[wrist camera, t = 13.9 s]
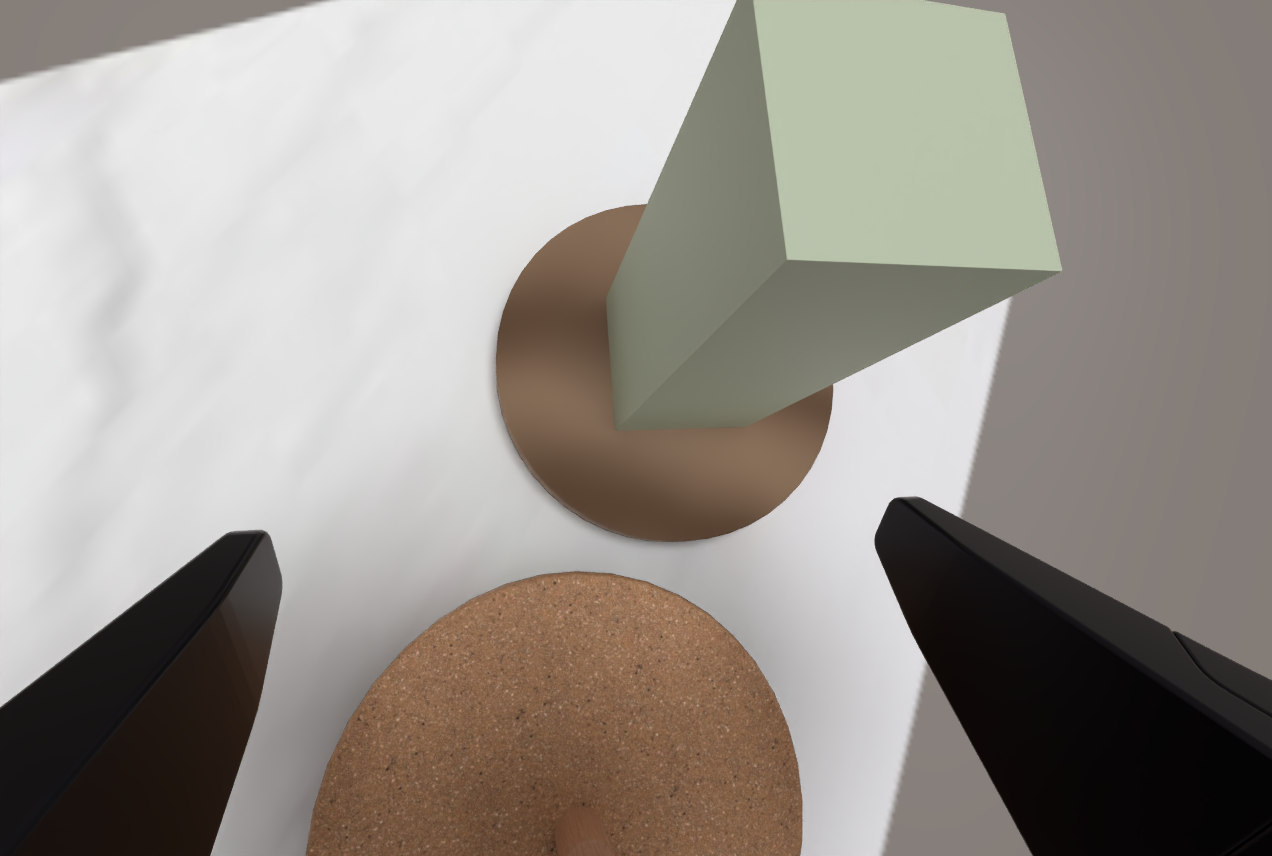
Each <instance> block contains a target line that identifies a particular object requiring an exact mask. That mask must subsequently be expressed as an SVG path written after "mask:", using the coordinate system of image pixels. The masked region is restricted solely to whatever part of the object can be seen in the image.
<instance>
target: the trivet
mask: <svg viewBox="0 0 1272 856" xmlns="http://www.w3.org/2000/svg"><path fill="white" fill-rule="evenodd" d="M646 206H647V204H644V205H632V206H624V207H619V208H615V209H610V210H606V211H603V212H600V213H597V214H595V215H592V216H589V217H586V218H584V219H583V220H581V221H579V222H577V223H575V224H573V225H571V226H569V227H567V228H566V229H565V230H563V231H562V232H561V233H559V234H558V235H556V236H555V237H554V238H552V239H551V240H550V241H549V242H548V243H547V244H546V245H545V246H544V247H542V248H541V249H540V250H539V251H538V252H537V253H536V254H535V255H534V257H533V258H532V259H531V261H530V262H529V263H528V264H527V266H526V267H525V268H524V270H523V271H522V272H521V274H520V276H519V278H518V280H517V281H516V283H515V285H514V287H513V288H512V290H511V293H510V295H509V298H508V300H507V303H506V305H505V308H504V311H503V314H502V319H501V323H500V328H499V332H498V341H497V353H496V375H497V392H498V397H499V402H500V407H501V412H502V416H503V418H504V421H505V424H506V427H507V430H508V433H509V436H510V438H511V440H512V442H513V444H514V446H515V448H516V450H517V452H518V453H519V455H520V457H521V459H522V460H523V461H524V463H525V464H526V466H527V467H528V469H529V470H530V472H531V473H532V475H533V476H534V477H535V478H536V479H537V480H538V481H539V483H540V484H541V485H542V486H543V487H544V488H545V489H546V490H547V491H548V493H550V494H551V495H552V496H553V497H554V498H555V499H557V500H558V501H559V502H560V503H561V504H562V505H564V506H565V507H566V508H567V509H569V510H571V511H572V512H574V513H575V514H577V515H578V516H580V517H581V518H583V519H584V520H586V521H588V522H590V523H592V524H594V525H597V526H599V527H601V528H603V529H605V530H607V531H611V532H614V533H617V534H620V535H623V536H626V537H630V538H636V539H642V540H648V541H666V542H677V541H690V540H700V539H708V538H712V537H716V536H720V535H724V534H728V533H731V532H733V531H736V530H738V529H741V528H743V527H746V526H748V525H750V524H752V523H754V522H755V521H757V520H759V519H760V518H762V517H764V516H765V515H767V514H769V513H770V512H771V511H772V510H774V509H775V508H776V507H777V506H779V505H780V504H781V503H782V502H784V501H785V500H786V499H787V498H788V497H789V495H790V494H791V493H792V492H793V491H794V490H795V489H796V488H797V487H798V486H799V485H800V483H801V482H802V480H803V479H804V477H805V476H806V475H807V473H808V472H809V470H810V469H811V467H812V465H813V463H814V461H815V459H816V457H817V456H818V454H819V452H820V450H821V447H822V444H823V441H824V438H825V435H826V433H827V429H828V425H829V420H830V415H831V410H832V398H833V384H832V385H830V386H828V387H826V388H824V389H822V390H820V391H818V392H816V393H814V394H812V395H810V396H808V397H806V398H804V399H802V400H799V401H797V402H795V403H793V404H791V405H789V406H787V407H785V408H783V409H781V410H779V411H777V412H775V413H773V414H771V415H769V416H767V417H765V418H763V419H761V420H759V421H757V422H755V423H753V424H751V425H749V426H747V427H728V428H696V429H664V430H632V431H615V424H614V410H613V395H612V381H611V367H610V352H609V338H608V323H607V309H606V297H607V295H608V292H609V290H610V288H611V286H612V283H613V281H614V279H615V276H616V274H617V272H618V270H619V267H620V265H621V263H622V260H623V258H624V256H625V254H626V251H627V249H628V247H629V245H630V242H631V240H632V238H633V235H634V233H635V231H636V229H637V226H638V224H639V222H640V220H641V217H642V215H643V213H644V210H645V208H646Z"/></svg>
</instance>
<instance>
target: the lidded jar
mask: <svg viewBox="0 0 1272 856" xmlns="http://www.w3.org/2000/svg"><path fill="white" fill-rule="evenodd" d="M801 845H802V794H801V786H800V778H799V770H798V762H797V758H796V754H795V751H794V747H793V743H792V739H791V735H790V732H789V728H788V725H787V722H786V720H785V718H784V715H783V713H782V711H781V708H780V706H779V703H778V701H777V699H776V696H775V694H774V692H773V690H772V688H771V687H770V685H769V684H768V682H767V680H766V679H765V677H764V675H763V674H762V672H761V670H760V669H759V667H758V665H757V664H756V662H755V661H754V660H753V658H752V657H751V656H750V655H749V654H748V652H747V651H746V650H745V649H744V648H743V646H742V645H741V644H740V643H739V642H738V640H737V639H736V638H735V637H734V636H733V635H732V634H731V633H730V632H729V631H728V630H727V629H725V628H724V627H723V626H722V625H721V624H720V623H719V622H717V621H716V620H715V619H714V618H713V617H712V616H711V615H710V614H708V613H707V612H705V611H704V610H702V609H701V608H699V607H697V606H696V605H694V604H693V603H691V602H689V601H688V600H686V599H685V598H683V597H681V596H680V595H678V594H675V593H673V592H670V591H668V590H666V589H663V588H661V587H658V586H656V585H654V584H651V583H649V582H646V581H642V580H637V579H633V578H629V577H624V576H620V575H616V574H610V573H595V572H579V571H574V572H564V573H554V574H544V575H538V576H535V577H531V578H527V579H523V580H519V581H515V582H512V583H508V584H505V585H503V586H500V587H498V588H496V589H493V590H491V591H489V592H487V593H484V594H482V595H480V596H477V597H475V598H473V599H471V600H469V601H468V602H466V603H464V604H463V605H461V606H460V607H458V608H456V609H455V610H453V611H452V612H450V613H448V614H447V615H445V616H444V617H442V618H440V619H439V620H437V621H436V622H435V623H434V624H433V625H432V626H430V627H429V628H428V629H427V630H426V631H424V632H423V633H422V634H421V635H420V636H419V637H417V638H416V639H415V640H414V641H413V642H412V643H410V644H409V645H408V646H407V647H406V648H405V649H404V650H403V651H402V652H401V653H400V654H399V655H398V657H397V658H396V659H395V660H394V661H393V662H392V663H391V664H390V666H389V667H388V668H387V669H386V670H385V671H384V672H383V673H382V675H381V676H380V677H379V678H378V679H377V680H376V681H375V683H374V684H373V685H372V687H371V688H370V690H369V691H368V693H367V694H366V696H365V697H364V699H363V700H362V702H361V703H360V705H359V706H358V708H357V709H356V711H355V712H354V714H353V715H352V717H351V718H350V720H349V721H348V723H347V725H346V727H345V730H344V732H343V734H342V736H341V738H340V740H339V742H338V744H337V746H336V748H335V750H334V752H333V754H332V756H331V758H330V761H329V763H328V765H327V768H326V771H325V774H324V777H323V781H322V784H321V787H320V790H319V793H318V796H317V799H316V803H315V806H314V809H313V814H312V820H311V826H310V832H309V838H308V844H307V850H306V856H800V853H801Z"/></svg>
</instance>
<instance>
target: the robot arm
mask: <svg viewBox="0 0 1272 856" xmlns="http://www.w3.org/2000/svg"><path fill="white" fill-rule="evenodd" d="M875 548H876V551H877V554H878V556H879V558H880V561H881V563H882V566H883V568H884V570H885V573H886V575H887V577H888V580H889V582H890V584H891V587H892V589H893V591H894V594H895V596H896V598H897V601H898V603H899V605H900V608H901V610H902V612H903V615H904V617H905V619H906V622H907V624H908V626H909V628H910V630H911V633H912V635H913V637H914V639H915V641H916V643H917V645H918V646H919V648H920V650H921V652H922V654H923V656H924V658H925V659H926V661H927V663H928V665H929V667H930V669H931V670H932V672H933V674H934V676H935V678H936V680H937V681H938V683H939V685H940V687H941V689H942V691H943V692H944V694H945V696H946V698H947V700H948V702H949V703H950V705H951V707H952V709H953V711H954V713H955V715H956V716H957V718H958V720H959V722H960V724H961V726H962V727H963V729H964V731H965V733H966V735H967V737H968V738H969V740H970V742H971V744H972V746H973V748H974V749H975V751H976V753H977V755H978V756H979V759H980V761H981V762H982V764H983V766H984V768H985V770H986V772H987V773H988V775H989V777H990V779H991V781H992V783H993V784H994V786H995V788H996V790H997V792H998V794H999V795H1000V797H1001V799H1002V801H1003V803H1004V805H1005V806H1006V808H1007V810H1008V812H1009V814H1010V815H1011V817H1012V819H1013V821H1014V823H1015V825H1016V827H1017V829H1018V830H1019V832H1020V834H1021V836H1022V838H1023V840H1024V841H1025V843H1026V845H1027V847H1028V848H1029V851H1030V852H1031V854H1032V856H1272V680H1270V679H1268V678H1266V677H1264V676H1262V675H1260V674H1258V673H1256V672H1254V671H1252V670H1250V669H1248V668H1246V667H1244V666H1242V665H1240V664H1238V663H1236V662H1235V661H1232V660H1231V659H1229V658H1227V657H1225V656H1223V655H1221V654H1219V653H1217V652H1215V651H1213V650H1211V649H1209V648H1207V647H1205V646H1203V645H1201V644H1200V643H1197V642H1196V641H1194V640H1192V639H1190V638H1188V637H1186V636H1184V635H1182V634H1180V633H1179V632H1176V631H1171V630H1170V628H1168V627H1167V626H1165V625H1163V624H1161V623H1159V622H1157V621H1155V620H1154V619H1152V618H1149V617H1148V616H1146V615H1144V614H1142V613H1140V612H1138V611H1136V610H1134V609H1132V608H1131V607H1128V606H1127V605H1125V604H1123V603H1121V602H1119V601H1117V600H1115V599H1113V598H1112V597H1110V596H1108V595H1106V594H1104V593H1102V592H1100V591H1098V590H1096V589H1094V588H1092V587H1090V586H1089V585H1087V584H1085V583H1083V582H1081V581H1079V580H1077V579H1075V578H1073V577H1071V576H1070V575H1068V574H1066V573H1064V572H1062V571H1060V570H1058V569H1056V568H1054V567H1052V566H1050V565H1049V564H1047V563H1045V562H1043V561H1041V560H1039V559H1037V558H1035V557H1033V556H1031V555H1030V554H1028V553H1026V552H1024V551H1022V550H1020V549H1018V548H1016V547H1014V546H1012V545H1010V544H1009V543H1007V542H1005V541H1003V540H1001V539H999V538H997V537H995V536H993V535H991V534H989V533H987V532H986V531H984V530H982V529H980V528H978V527H976V526H974V525H972V524H970V523H968V522H967V521H964V520H963V519H961V518H959V517H957V516H955V515H953V514H951V513H949V512H947V511H946V510H944V509H942V508H940V507H938V506H936V505H934V504H932V503H930V502H928V501H927V500H925V499H923V498H920V497H898V498H894V499H893V500H892V501H891V502H890V503H889V505H888V507H887V509H886V511H885V514H884V516H883V518H882V520H881V523H880V525H879V527H878V529H877V532H876V534H875ZM281 595H282V576H281V572H280V568H279V565H278V561H277V558H276V554H275V551H274V547H273V544H272V540H271V538H270V536H269V534H268V533H267V532H266V531H263V530H248V531H233V532H229V533H227V534H225V535H224V536H222V537H221V538H219V539H218V540H217V541H216V542H214V543H213V544H212V545H210V546H209V547H208V548H206V549H205V550H204V551H203V552H201V553H200V554H199V555H197V556H196V557H195V558H193V559H192V560H191V561H190V562H188V563H187V564H186V565H184V566H183V567H182V568H180V569H179V570H178V571H177V572H175V573H174V574H173V575H171V576H170V577H169V578H167V579H166V580H165V581H164V582H162V583H161V584H160V585H158V586H157V587H156V588H155V589H153V590H152V591H151V592H149V593H148V594H147V595H145V596H144V597H143V598H142V599H140V600H139V601H138V602H136V603H135V604H134V605H132V606H131V607H130V608H129V609H127V610H126V611H125V612H123V613H122V614H121V615H119V616H118V617H117V618H116V619H114V620H113V621H112V622H110V623H109V624H108V625H106V626H105V627H104V628H103V629H101V630H100V631H99V632H97V633H96V634H95V635H93V636H92V637H91V638H90V639H88V640H87V641H86V642H84V643H83V644H82V645H80V646H79V647H78V648H77V649H75V650H74V651H73V652H71V653H70V654H69V655H67V656H66V657H65V658H64V659H62V660H61V661H60V662H58V663H57V664H56V665H55V666H53V667H52V668H51V669H49V670H48V671H47V672H45V673H44V674H43V675H42V676H40V677H39V678H38V679H36V680H35V681H34V682H32V683H31V684H30V685H29V686H27V687H26V688H25V689H23V690H22V691H21V692H19V693H18V694H17V695H16V696H14V697H13V698H12V699H10V700H9V701H8V702H6V703H5V704H4V705H3V706H1V707H0V856H210V854H211V851H212V848H213V845H214V842H215V839H216V836H217V833H218V830H219V827H220V824H221V821H222V818H223V815H224V812H225V809H226V806H227V803H228V800H229V797H230V794H231V791H232V788H233V785H234V782H235V779H236V776H237V773H238V770H239V767H240V764H241V761H242V757H243V754H244V751H245V748H246V745H247V742H248V739H249V736H250V733H251V730H252V727H253V724H254V720H255V717H256V714H257V710H258V706H259V702H260V698H261V693H262V689H263V684H264V679H265V674H266V669H267V664H268V659H269V654H270V649H271V644H272V639H273V634H274V629H275V624H276V620H277V615H278V610H279V605H280V600H281Z"/></svg>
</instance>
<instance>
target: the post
mask: <svg viewBox="0 0 1272 856" xmlns="http://www.w3.org/2000/svg"><path fill="white" fill-rule="evenodd" d="M1060 272H1062V267H1061V263H1060V259H1059V255H1058V249H1057V245H1056V241H1055V236H1054V231H1053V227H1052V223H1051V218H1050V213H1049V209H1048V204H1047V200H1046V195H1045V191H1044V186H1043V182H1042V177H1041V173H1040V168H1039V165H1038V159H1037V155H1036V150H1035V146H1034V142H1033V137H1032V133H1031V128H1030V123H1029V119H1028V114H1027V110H1026V106H1025V101H1024V96H1023V92H1022V87H1021V83H1020V78H1019V74H1018V70H1017V65H1016V60H1015V56H1014V51H1013V47H1012V42H1011V38H1010V34H1009V29H1008V24H1007V20H1006V15H1005V14H1003V13H997V12H991V11H985V10H978V9H972V8H966V7H961V6H954V5H948V4H942V3H936V2H930V1H924V0H737V1H736V3H735V6H734V8H733V10H732V12H731V15H730V17H729V19H728V21H727V24H726V26H725V28H724V31H723V33H722V35H721V37H720V40H719V42H718V44H717V46H716V49H715V51H714V53H713V56H712V58H711V60H710V62H709V65H708V67H707V69H706V72H705V74H704V76H703V78H702V81H701V83H700V85H699V87H698V90H697V92H696V94H695V97H694V99H693V101H692V103H691V106H690V108H689V110H688V113H687V115H686V117H685V119H684V122H683V124H682V126H681V128H680V131H679V133H678V135H677V138H676V140H675V142H674V144H673V147H672V149H671V151H670V153H669V156H668V158H667V160H666V163H665V165H664V167H663V169H662V172H661V174H660V176H659V179H658V181H657V183H656V185H655V188H654V190H653V192H652V194H651V197H650V199H649V201H648V204H647V206H646V208H645V210H644V213H643V215H642V217H641V220H640V222H639V224H638V226H637V229H636V231H635V233H634V235H633V238H632V240H631V242H630V245H629V247H628V249H627V251H626V254H625V256H624V258H623V260H622V263H621V265H620V267H619V270H618V272H617V274H616V276H615V279H614V281H613V283H612V286H611V288H610V290H609V292H608V295H607V297H606V309H607V323H608V338H609V352H610V367H611V381H612V395H613V410H614V424H615V431H632V430H664V429H696V428H728V427H747V426H749V425H751V424H753V423H755V422H757V421H759V420H761V419H763V418H765V417H767V416H769V415H771V414H773V413H775V412H777V411H779V410H781V409H783V408H785V407H787V406H789V405H791V404H793V403H795V402H797V401H799V400H802V399H804V398H806V397H808V396H810V395H812V394H814V393H816V392H818V391H820V390H822V389H824V388H826V387H828V386H830V385H832V384H834V383H836V382H838V381H840V380H842V379H844V378H846V377H848V376H850V375H852V374H854V373H856V372H858V371H860V370H862V369H865V368H867V367H869V366H871V365H873V364H875V363H877V362H879V361H881V360H883V359H885V358H887V357H889V356H891V355H893V354H895V353H897V352H899V351H901V350H903V349H905V348H907V347H909V346H911V345H913V344H915V343H917V342H919V341H921V340H923V339H925V338H928V337H930V336H932V335H934V334H936V333H938V332H940V331H942V330H944V329H946V328H948V327H950V326H952V325H954V324H956V323H958V322H960V321H962V320H964V319H966V318H968V317H970V316H972V315H974V314H976V313H978V312H980V311H982V310H984V309H986V308H988V307H991V306H993V305H995V304H997V303H999V302H1001V301H1003V300H1005V299H1007V298H1009V297H1011V296H1013V295H1015V294H1017V293H1019V292H1021V291H1023V290H1025V289H1027V288H1029V287H1031V286H1033V285H1035V284H1037V283H1039V282H1041V281H1043V280H1045V279H1047V278H1049V277H1051V276H1053V275H1056V274H1058V273H1060Z"/></svg>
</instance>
